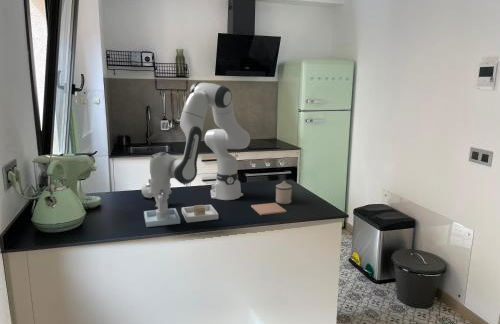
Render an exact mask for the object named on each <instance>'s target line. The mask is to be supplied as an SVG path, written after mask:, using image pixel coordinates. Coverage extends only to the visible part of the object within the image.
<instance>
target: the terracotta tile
mask: <svg viewBox="0 0 500 324" xmlns="http://www.w3.org/2000/svg"><path fill="white" fill-rule="evenodd" d="M250 207H251V208H252V209H253V210H254V211H255V212H257V214H259V215H260V216H265V215H268V216H269V215H275V214H284V213H287V210H286V209H285V208H283V207H282V206H281V205H280V204H279V203H277V202H270V203H261V204H260V203H259V204H251V206H250Z"/></svg>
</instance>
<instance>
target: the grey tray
mask: <svg viewBox="0 0 500 324" xmlns="http://www.w3.org/2000/svg"><path fill="white" fill-rule="evenodd" d="M202 205H203V204H202ZM194 206H195V205H193V206H186V207H184V206H183V207H181V214H182V215H183V218H184V221H186V223H197V222H203V221H204V222H206V221H214V220H219V213H218V212H217V210H216V209H215V208H214V207H213V205H212V204H204V205H203V206H204V207H205V215H199V216H195V215H194Z"/></svg>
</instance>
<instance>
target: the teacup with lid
mask: <svg viewBox="0 0 500 324" xmlns="http://www.w3.org/2000/svg"><path fill="white" fill-rule="evenodd" d="M292 191H293V186H292V185H291V184H290V183H287V181H286V180H283V181H281V183H278V184H276V185H275V203H277V204H279V205H288V204H291V203H292V197H293V196H292V194H293V193H292Z"/></svg>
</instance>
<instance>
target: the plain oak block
mask: <svg viewBox="0 0 500 324" xmlns="http://www.w3.org/2000/svg"><path fill="white" fill-rule="evenodd" d="M193 206H194V215H195V216H199V215H205V207H204V206H203V204H197V205H193Z"/></svg>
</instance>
